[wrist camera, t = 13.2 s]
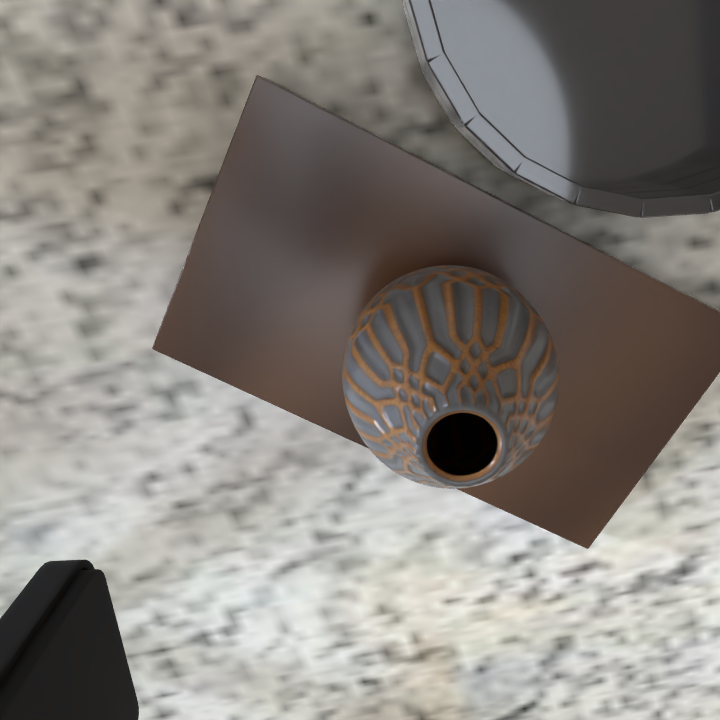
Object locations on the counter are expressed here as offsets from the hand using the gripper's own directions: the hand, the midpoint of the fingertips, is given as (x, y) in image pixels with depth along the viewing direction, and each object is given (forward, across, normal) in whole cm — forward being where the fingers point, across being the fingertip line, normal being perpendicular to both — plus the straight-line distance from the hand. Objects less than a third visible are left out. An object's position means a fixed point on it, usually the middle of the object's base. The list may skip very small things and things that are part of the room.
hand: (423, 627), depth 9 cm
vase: (+16, -2, +1) cm, 16 cm away
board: (+17, -2, +1) cm, 17 cm away
